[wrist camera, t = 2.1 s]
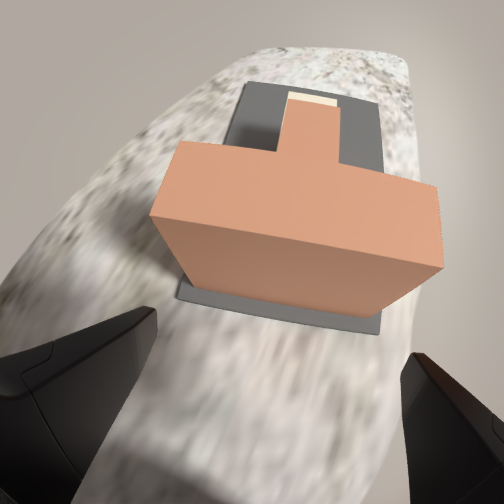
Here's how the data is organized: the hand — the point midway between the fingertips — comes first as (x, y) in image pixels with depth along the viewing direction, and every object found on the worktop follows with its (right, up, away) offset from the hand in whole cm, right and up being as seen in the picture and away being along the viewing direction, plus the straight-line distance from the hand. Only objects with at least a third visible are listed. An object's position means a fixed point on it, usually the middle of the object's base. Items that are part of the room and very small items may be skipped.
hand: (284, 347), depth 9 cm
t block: (+2, +6, +14) cm, 16 cm away
